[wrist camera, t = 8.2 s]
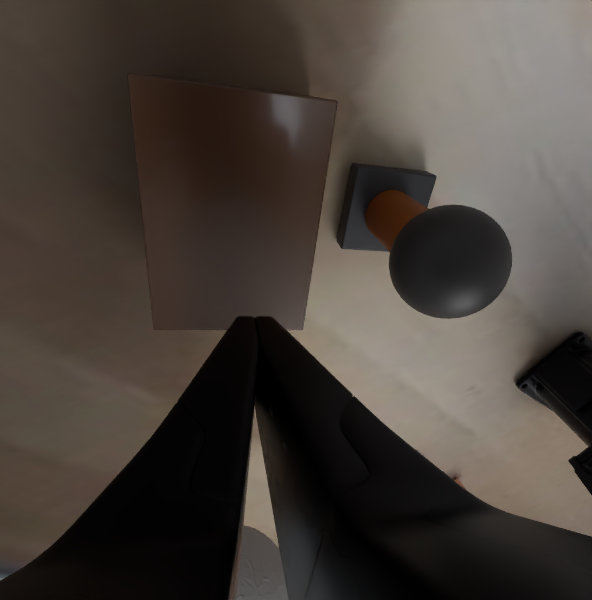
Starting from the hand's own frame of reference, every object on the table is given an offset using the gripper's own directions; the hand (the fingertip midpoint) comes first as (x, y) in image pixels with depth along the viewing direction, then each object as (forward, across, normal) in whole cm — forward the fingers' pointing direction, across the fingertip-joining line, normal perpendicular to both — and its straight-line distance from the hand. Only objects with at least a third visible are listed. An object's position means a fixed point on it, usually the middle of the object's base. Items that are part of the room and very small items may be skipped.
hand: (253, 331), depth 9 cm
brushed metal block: (+12, 0, 0) cm, 12 cm away
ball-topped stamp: (+12, -5, 0) cm, 13 cm away
